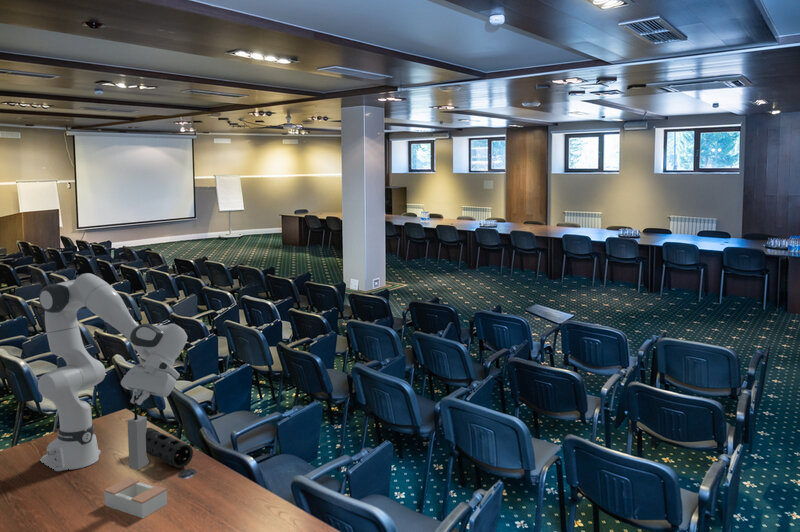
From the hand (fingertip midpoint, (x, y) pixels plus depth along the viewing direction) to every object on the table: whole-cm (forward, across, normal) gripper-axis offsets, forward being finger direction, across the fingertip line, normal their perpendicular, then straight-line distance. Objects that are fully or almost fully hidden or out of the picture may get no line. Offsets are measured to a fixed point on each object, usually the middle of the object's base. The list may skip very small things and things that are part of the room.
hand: (135, 403), depth 205 cm
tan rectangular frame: (+26, 0, +24) cm, 35 cm away
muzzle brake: (+6, -19, +44) cm, 49 cm away
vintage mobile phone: (+16, 0, +16) cm, 22 cm away
